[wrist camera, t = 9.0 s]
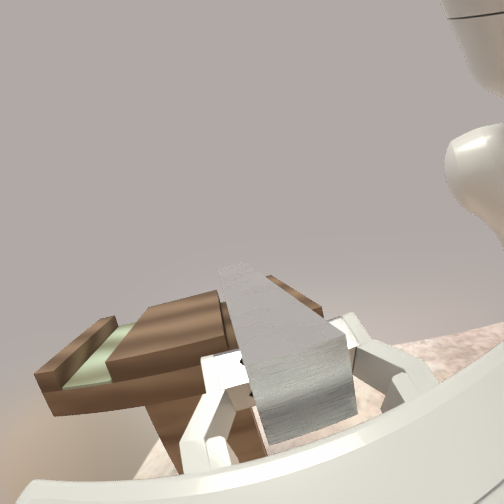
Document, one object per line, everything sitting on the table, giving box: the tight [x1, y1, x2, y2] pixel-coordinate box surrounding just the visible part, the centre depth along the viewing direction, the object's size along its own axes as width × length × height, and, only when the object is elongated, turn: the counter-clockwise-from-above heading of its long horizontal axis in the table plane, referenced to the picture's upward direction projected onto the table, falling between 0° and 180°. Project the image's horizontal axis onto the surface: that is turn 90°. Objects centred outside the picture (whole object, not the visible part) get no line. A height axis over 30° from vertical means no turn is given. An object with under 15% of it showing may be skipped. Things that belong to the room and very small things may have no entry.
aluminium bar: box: [217, 262, 358, 445], centre depth 21 cm, size 26×3×3 cm, turn 8°
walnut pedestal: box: [34, 275, 324, 475], centre depth 27 cm, size 16×20×28 cm
